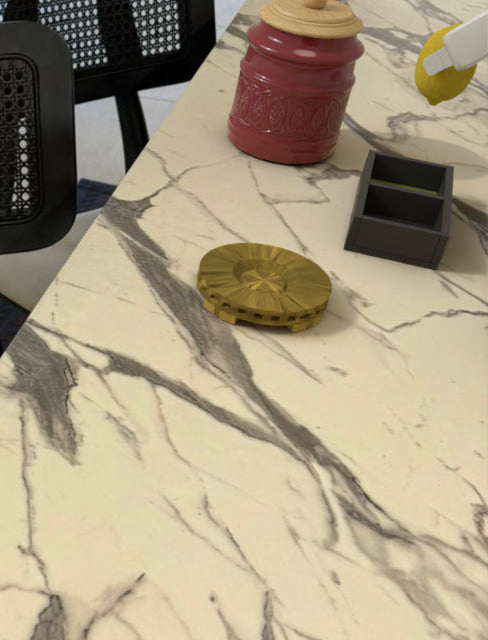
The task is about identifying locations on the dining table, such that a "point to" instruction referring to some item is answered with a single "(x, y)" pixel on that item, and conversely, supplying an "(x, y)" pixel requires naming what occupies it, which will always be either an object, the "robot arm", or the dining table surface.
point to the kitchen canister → (295, 80)
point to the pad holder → (402, 210)
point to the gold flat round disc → (263, 286)
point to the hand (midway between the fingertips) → (442, 59)
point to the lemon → (440, 73)
